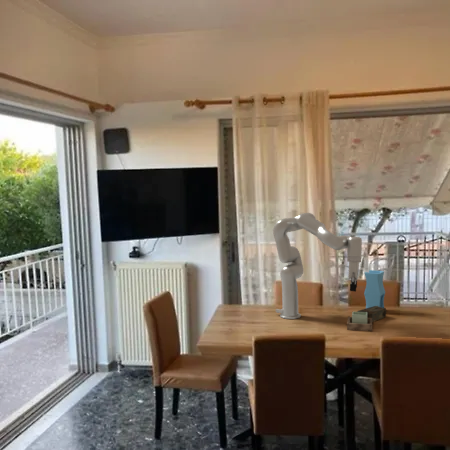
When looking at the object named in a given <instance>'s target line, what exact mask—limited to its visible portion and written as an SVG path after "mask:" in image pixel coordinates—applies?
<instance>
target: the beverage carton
mask: <svg viewBox="0 0 450 450" xmlns="http://www.w3.org/2000/svg"><path fill="white" fill-rule="evenodd" d="M386 311H387V309H386V307H384V308H383V307H378V306H373V307H369V308H366V307H365V308H363V309H360V310H359V309H358V310H357V311H356V312H367V318H372V323H373V322H376V320H377V321H379V319H380V320H382V319H385V318H386V317H387V312H386ZM384 317H385V318H384Z"/></svg>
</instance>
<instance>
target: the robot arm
mask: <svg viewBox="0 0 450 450" xmlns="http://www.w3.org/2000/svg"><path fill="white" fill-rule="evenodd" d="M300 230H305V231H306V232H308V233H309V234H311V235H313V236H315V237H316V238H317V239H318V240H319V241H320V242H321V243H323V244H324V245H325V246H327V247H329V248H331V249H332V250H335V251H340V250H344V249H347V251H346V252H347V253H346V254H347V255H346V256H347V260H346V262H348V277H347V278H348V279H347V280H350V283H349V291H350V292H356V291H357V287H358V277H359V273H360V272H359V269H360V263H362V244H363V240H362V237H360V236H348V235H345V234H344V235H336V234H334V233H332V232H330V231H329V230H328V229H327V228H326V225H325V223H324V222H321V221H319V220H318V219H316V216H315V215H314V213H311V212H303V213H300V214H299V215H298V216H292V217H287V218H285V217H284V218H281V219H280V220H278V221H277V222H276V223H274V225H273V229H272V231H273V232H272V233H273V238H274V241H275V246H276V250H277V256H278V259H279V261H280V263H283V264H287V265H284V266H282V269H281V270H280V273H279V274H280V281H281V295H282V296H281V297H282V299H281V302H282V305H281V306H282V308H281V309H279V308H275V313H277V314H279V313H280V314H279V316H280V318H282V319H287V320H295V319H299V318H301V316H302V314H301V313H299V288H298V287H299V286H298V282H297V279H299V278H301V277H302V276H303V274H304V265H303V261H302V257H301V253H300V250H299V249H298V247H296V246H293V245H291V242H290V238H289V237H288V233H292V232H295V231H300Z"/></svg>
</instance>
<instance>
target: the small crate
mask: <svg viewBox="0 0 450 450" xmlns="http://www.w3.org/2000/svg"><path fill="white" fill-rule="evenodd" d="M351 317H352V323H358V324H367V312H357V311H352V312H351Z"/></svg>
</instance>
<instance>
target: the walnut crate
mask: <svg viewBox="0 0 450 450" xmlns="http://www.w3.org/2000/svg"><path fill="white" fill-rule="evenodd" d="M346 331H359V332H360V331H362V332H373V322H372V318H367V324H358V323H352V316H348V317H347V321H346Z"/></svg>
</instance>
